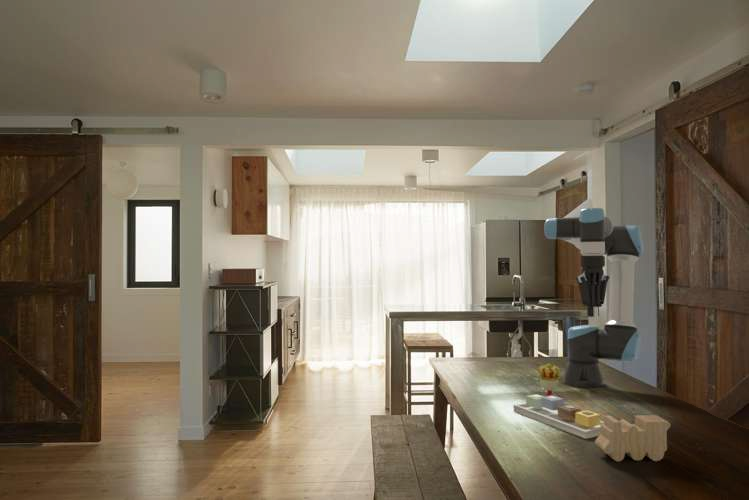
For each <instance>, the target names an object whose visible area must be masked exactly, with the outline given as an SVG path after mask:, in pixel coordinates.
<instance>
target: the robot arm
mask: <svg viewBox="0 0 749 500" xmlns="http://www.w3.org/2000/svg"><path fill="white" fill-rule="evenodd" d="M543 226H544V227H543V230H544V231H543V232H544V236H545V237H546V238H547V239H550V240H563V241H565V242H568V243H570V244H571V245H574V247H575V248H577V249H578V250H579V251H580V254H581V255H580V256H579V257H580V259H579V262H580V263H579V264H580V267H581V268H582V269H581V274H580V275H579V276H578V275H577V276H576V277H575V279H576V282H577V283H578V288H579V293H580V299H581V303H582V305H583V306H584V307H587V311H586V312H587V313H586V314H587V317H588V318H587V319H588V324H583V325H575V326H571V327H569V328H568V330H567V365H566V368H565V372H564V374H563V383H565V384H566V385H569V386H571V387H572V386H573V387H579V388H600V387H603V386H604V385H605V381H604V379H605V378H604V377H603V374H602V371H601V367H600V361H599V360H607V361H615V362H616V361H617V362H623V363H625V362H627V363H628V362H629V363H630V362H635V361H637V360H638V358H639V355H640V352H641V348H642V333H641V332H640V331H638V326H636V325H635V324H634V296H635V295H634V291H635V264H636V262H637V261H638V260H640V256H642V255H644V251H645V247H644V241H643V239H644V238H643V234H642V231H641V229H640V227H638V226H637V225H628V224H627V225H619V226H618V225H616V226H614V224H613V222H612V221H611V219H609V218H608V216H606V215H605V210H604V208H603V207H602V208H601V207H587V208H582V209H581V210H580V211H579V216H576V217H573V216H572V217H554V218H553V217H552V218H547V219H546V220H545V222H544V225H543ZM606 255H607V257H606ZM606 258H607V260H609V262H610V276H609V275H606V274H605V273H604V272H605V271H604V269H603V268H604V267H605V266H606ZM609 280H610V281H609ZM608 281H609V283H610V284H609V304H608V305H609V308H608V309H609V310H608V321H607V322H606V323H605V324H604V326H603V327H604V328H603V329H601V328H600V327H599V316H600V308H602V307H603V305H604V303H605V300H606V299H605V298H606V292H607V285H608Z"/></svg>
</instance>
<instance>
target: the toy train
mask: <svg viewBox="0 0 749 500" xmlns="http://www.w3.org/2000/svg"><path fill="white" fill-rule="evenodd" d="M603 421H604V424H601V429H600V435H599V436H597V438H596V439H595V441H594V444H595V445H596V446H597V447H599V448H600V450H602V451H603V452H604V453H605V454H607V455H608V456H609V457H610V458H611V459H613V460H614V461H616V462H622V461H623V460H624V458H625V455H626V456H628V457H630V458H631V459H633V460H634V461H642V460H643V459H644V458H645V457H646V458H649V459H650V460H652V461H654V462H658V461H659V462H660V461H661V460H662V459H664V456H665V452H666V451H667V450H668V441H667V440H668V436H667V435H668V434H667V432H668V430H669V429H670V428H671V426H672V424H671V422H669V421H668V420H666V419H664V418H662V417H660V416H659V415H656V414H653V415H652V414H651V415H650V414H649V415H647V414H646V415H643V414H642V415H641V414H639V415H638V414H637V415H635V416H634V423H630V422H629V421H627V420H625V419H623V418H622V419H620V420H618V419H616V418H614V417H613V416H611V415H609V414H608V415H603Z"/></svg>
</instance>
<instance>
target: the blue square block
mask: <svg viewBox="0 0 749 500" xmlns="http://www.w3.org/2000/svg"><path fill="white" fill-rule="evenodd" d="M553 395H554V394H553ZM553 395H551V396H546V395H545V396H544V397H541V407H544V408H547V409H550V410H558V406H564V405H565V401H564V398H562V397H559V396H556V395H554V396H553Z"/></svg>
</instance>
